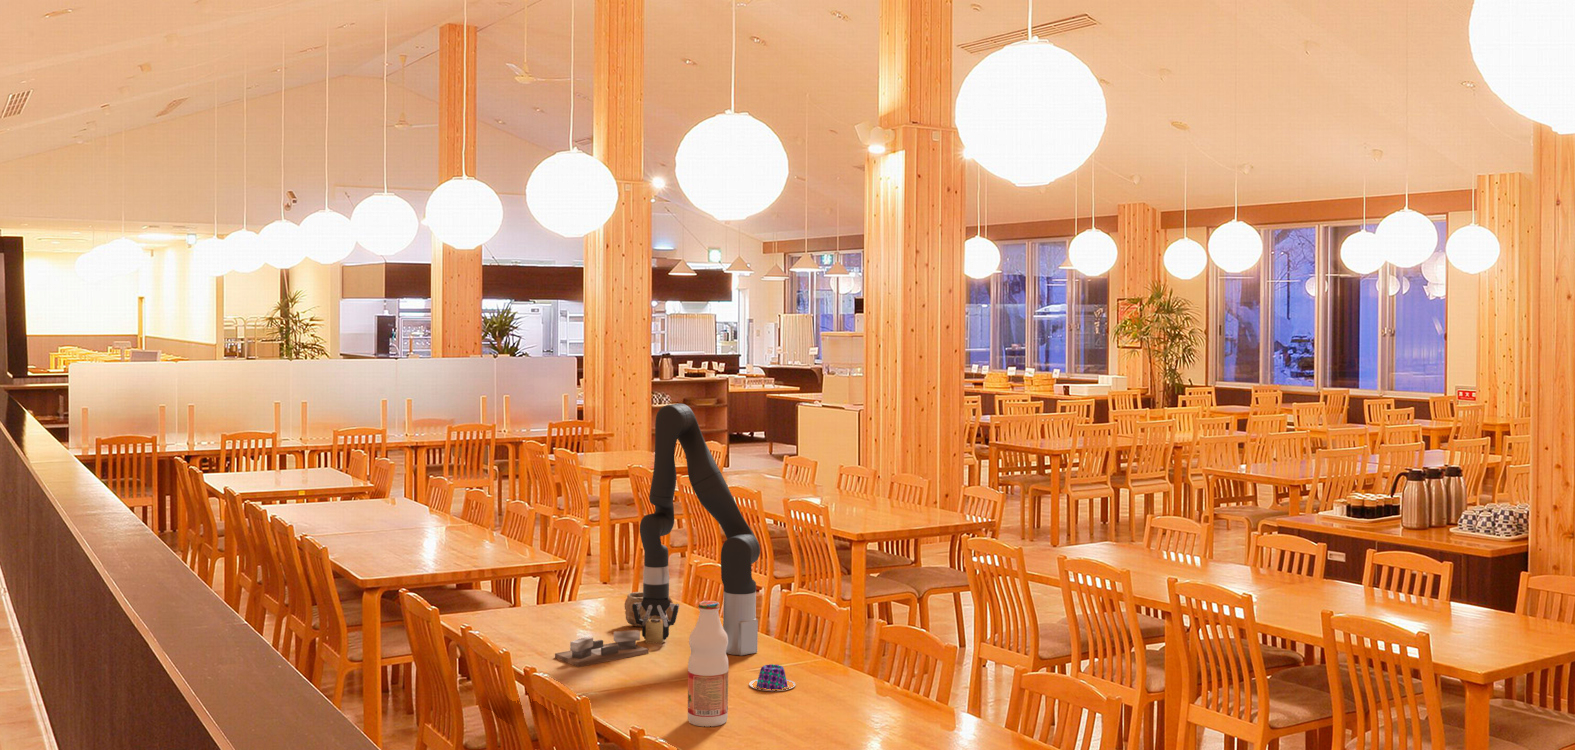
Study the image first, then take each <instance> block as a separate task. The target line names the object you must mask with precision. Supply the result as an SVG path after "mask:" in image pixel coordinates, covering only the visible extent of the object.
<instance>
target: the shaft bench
mask: <svg viewBox="0 0 1575 750" xmlns="http://www.w3.org/2000/svg"><path fill="white" fill-rule="evenodd" d="M613 641H614V642H610V643H604V640H602V639H599V640H594V637H590V636H584V637H581V638H577V639H575V640H572V641H570V643H569V645H570V646H569V649H570V650H567V651H561V652H557V653H554V658H555V659H557V660H559V661H562V662H565V663H568V664H570V665H572V666H575V667H577V668H579V667H585V666H590V665H596V664H601V663H605V662H606V663H607V662H610V661H616V660H621V659H622V660H623V659H625V658H630V657H631V658H632V657H637V656H641V655H646V654H647V655H648V654H649V648H647V647H645V646H640V645H637V644H636V643H637V642H636V641H641V631H640V630H639V629H634V630H633V629H632V630H619V631H613Z"/></svg>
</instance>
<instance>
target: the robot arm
mask: <svg viewBox="0 0 1575 750" xmlns="http://www.w3.org/2000/svg"><path fill="white" fill-rule="evenodd" d="M654 425H655V428H654V431H655V432H654V433H655V434H654V463H653V472H652V479H651V484H650V490H649V496H648V498H649V502H650V504H651V505H653V506H654V513H648V514H645V515H644V516H643V517H642V518H641V520H640V523H639V535H640V538H641V539H640V540H641V544H642V548H643V552H644V555H643V559H644V560H643V561H644V562H643V564H644V565H643V573H642V574H643V575H642V592H643V600H642V602H639V603H637V602H635V603H634V604H633V605H632V607H633V612H634V616H635V621H636V623H637V624H640V625H642V626H641V635H642V637H643V639H644V640H645V637H646V622H647V621H648V620H649V618H650V616H654V615H656V616H660V617H661V619H662V621H663V624H664V627H663V640H667V638H668V637H669V635H670V626H674V625H675V623H676V621H677V617H678V613H679V609H680V604H679V603H674V602H673V603H670V600H669V597H670V570H669V549H668V547H667V546H666V545H664V544H662V540H661V537H664V536H665V537H666V535H669V534H670V533H671V532H672V530H673V528H674V525H675V510H674V509H675V508H674V498H675V491H676V486H677V469H676V462H675V454H676V453H675V452H676V451H675V450H676V446H677V445H676V444H677V442H679V444H680V446H681V448H682V450H683V452H684V455H685V456H684V457H685V459H686V466H687V468H686V469H687V475H688V480H689V482H690V486H691V487H692V490H693V491H694V493H695V495H696V498H697V499H698V501H699V503H700V504H701V505H702V506H703V508H704V509H705V510H706V511H707V512H708V513H709V514H710V515H711V516H712V517H713V518H714V520H716V522H717V523H718V525H719V526H720V527H721V529H722V531H723V533H724V536H725V537H726V540H725V541H724V542H723V544H722V546H721V550H720V576H721V577H720V578H721V582H722V585H723V603H722V604H723V610H722V611H723V613H722V614H723V617H722V619H723V621H722V627H723V629H724V630H725V632H726V633H727V636H728V646H727V649H726V654H729V655H733V656H746V655H750V654H755V653H758V645H759V644H758V641H759V639H758V637H759V636H758V635H759V634H758V631H759V630H758V629H759V620H758V618H757V615H756V614H757V611H756V610H757V609H756V607H757V583H756V580H755V579H753V576H752V564H754V563H756V562H757V561H758V559H759V557H760V555H761V546H760V543H759V541H758V540H759V539H757V537H756V535H755V533H754V532H753V530H752V529H751V527H750V526H749V524H748V523H747V521H746V520H745V518H744V516H743V515H742V513H741V510H740V509H739V506H738V505H737V503H736V499H735V498H734V496H733V495H732V493H731V490H730V489H729V486H728V484H727V481H726V480H725V478H724V476H723V473H722V472H721V470H720V468H719V467H718V464H717V463H716V460H715V459H714V457H713V455H712V452H711V450H710V449H709V447H708V445H707V442H706V440H705V438H704V436H703V433H702V431H701V429H700V425H699V423H698V420H697V417H696V415H695V413H694V411H693V410H692V408H691V407H690V406H688V405H687V404H685V403H672V404H667V405H664V406H662V407H661V408H660V409H659V410H658V411H657V412H656V416H655V424H654ZM641 606H642V607H643V608H644V610H645V611H646V614H645V617H644V620H642V619H641V616H640V612H639V610H640V609H641ZM669 606H670V607H671V611H673V613H672V617H671V620H670V621H669V620H668V617H667V613H666V610H667V609H668V608H669Z"/></svg>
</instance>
